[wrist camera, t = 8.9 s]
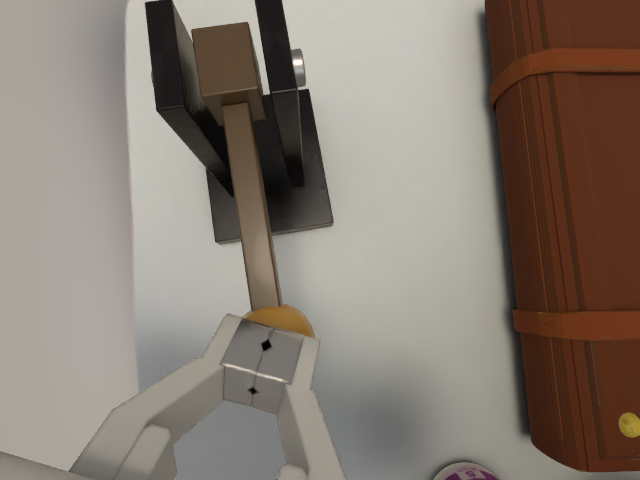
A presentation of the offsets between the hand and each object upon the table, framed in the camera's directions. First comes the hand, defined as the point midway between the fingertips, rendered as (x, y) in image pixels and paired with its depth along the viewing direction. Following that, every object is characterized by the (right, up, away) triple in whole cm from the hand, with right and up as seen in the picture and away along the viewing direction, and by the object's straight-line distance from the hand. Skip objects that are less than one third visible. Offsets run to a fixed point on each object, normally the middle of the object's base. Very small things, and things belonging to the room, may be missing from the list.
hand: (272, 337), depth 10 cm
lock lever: (-1, +4, +4) cm, 6 cm away
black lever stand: (-2, +8, +13) cm, 16 cm away
